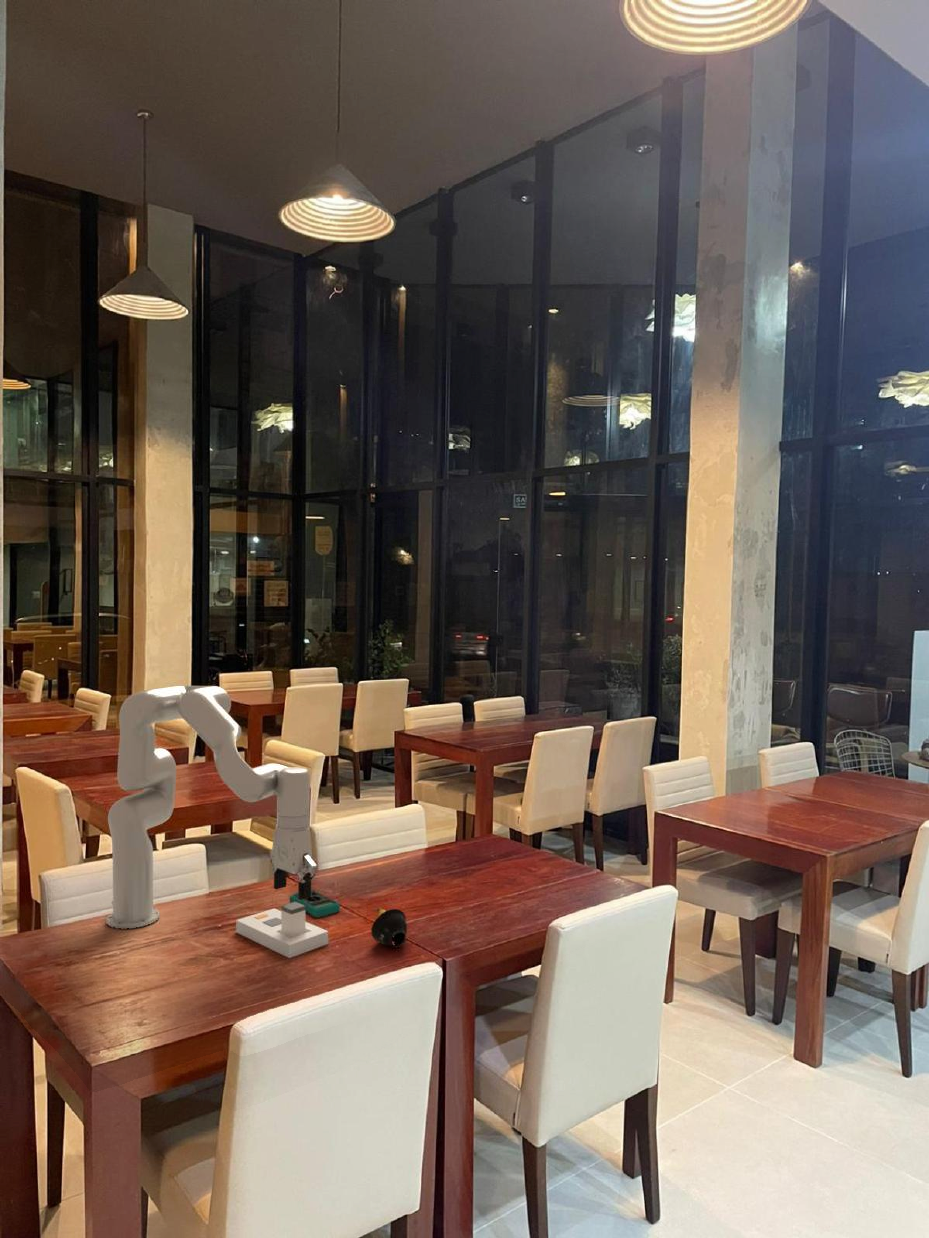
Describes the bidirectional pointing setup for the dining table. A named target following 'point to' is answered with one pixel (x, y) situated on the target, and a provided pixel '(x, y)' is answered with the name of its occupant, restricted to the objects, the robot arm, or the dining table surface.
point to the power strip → (268, 934)
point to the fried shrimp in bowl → (390, 927)
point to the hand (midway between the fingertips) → (292, 892)
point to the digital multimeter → (317, 904)
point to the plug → (293, 919)
